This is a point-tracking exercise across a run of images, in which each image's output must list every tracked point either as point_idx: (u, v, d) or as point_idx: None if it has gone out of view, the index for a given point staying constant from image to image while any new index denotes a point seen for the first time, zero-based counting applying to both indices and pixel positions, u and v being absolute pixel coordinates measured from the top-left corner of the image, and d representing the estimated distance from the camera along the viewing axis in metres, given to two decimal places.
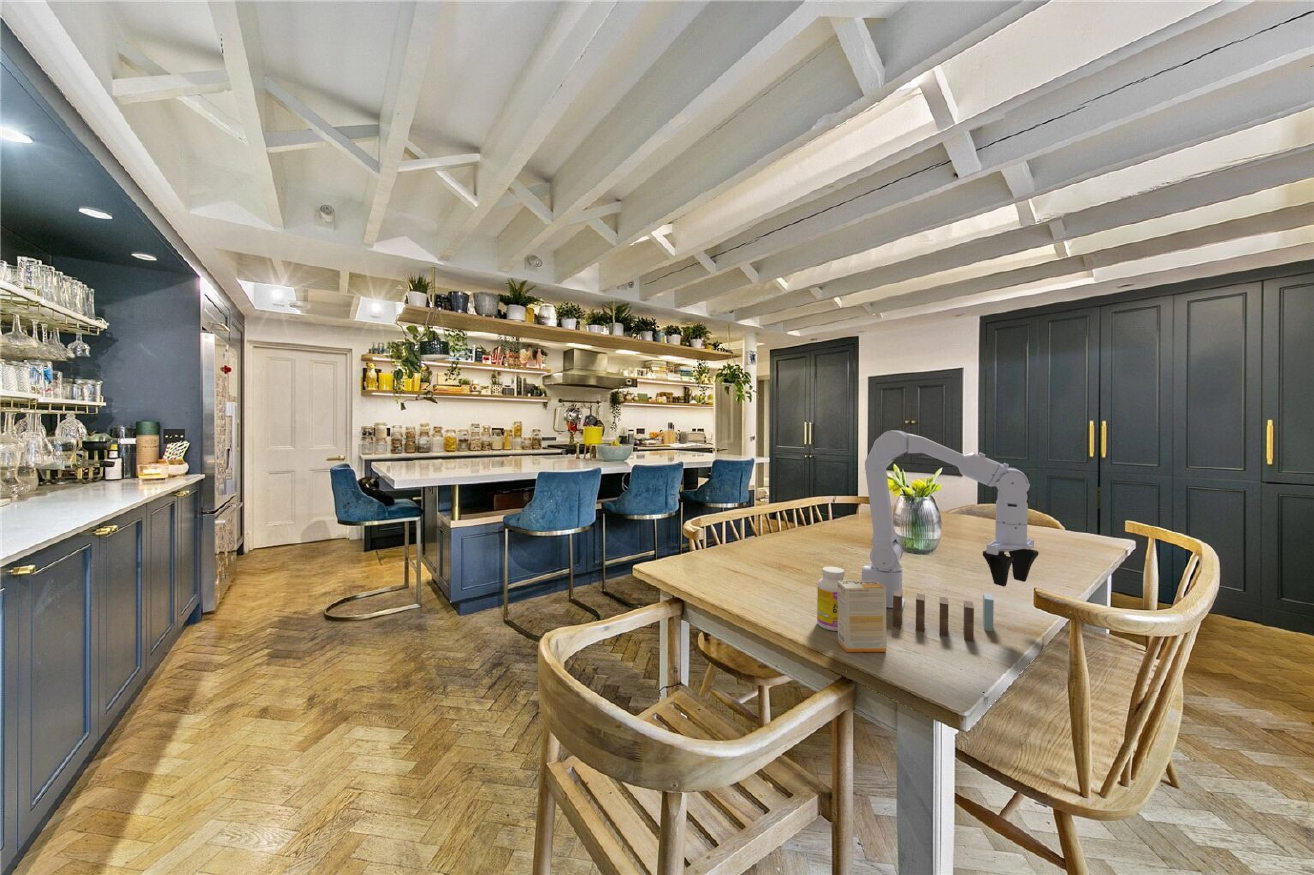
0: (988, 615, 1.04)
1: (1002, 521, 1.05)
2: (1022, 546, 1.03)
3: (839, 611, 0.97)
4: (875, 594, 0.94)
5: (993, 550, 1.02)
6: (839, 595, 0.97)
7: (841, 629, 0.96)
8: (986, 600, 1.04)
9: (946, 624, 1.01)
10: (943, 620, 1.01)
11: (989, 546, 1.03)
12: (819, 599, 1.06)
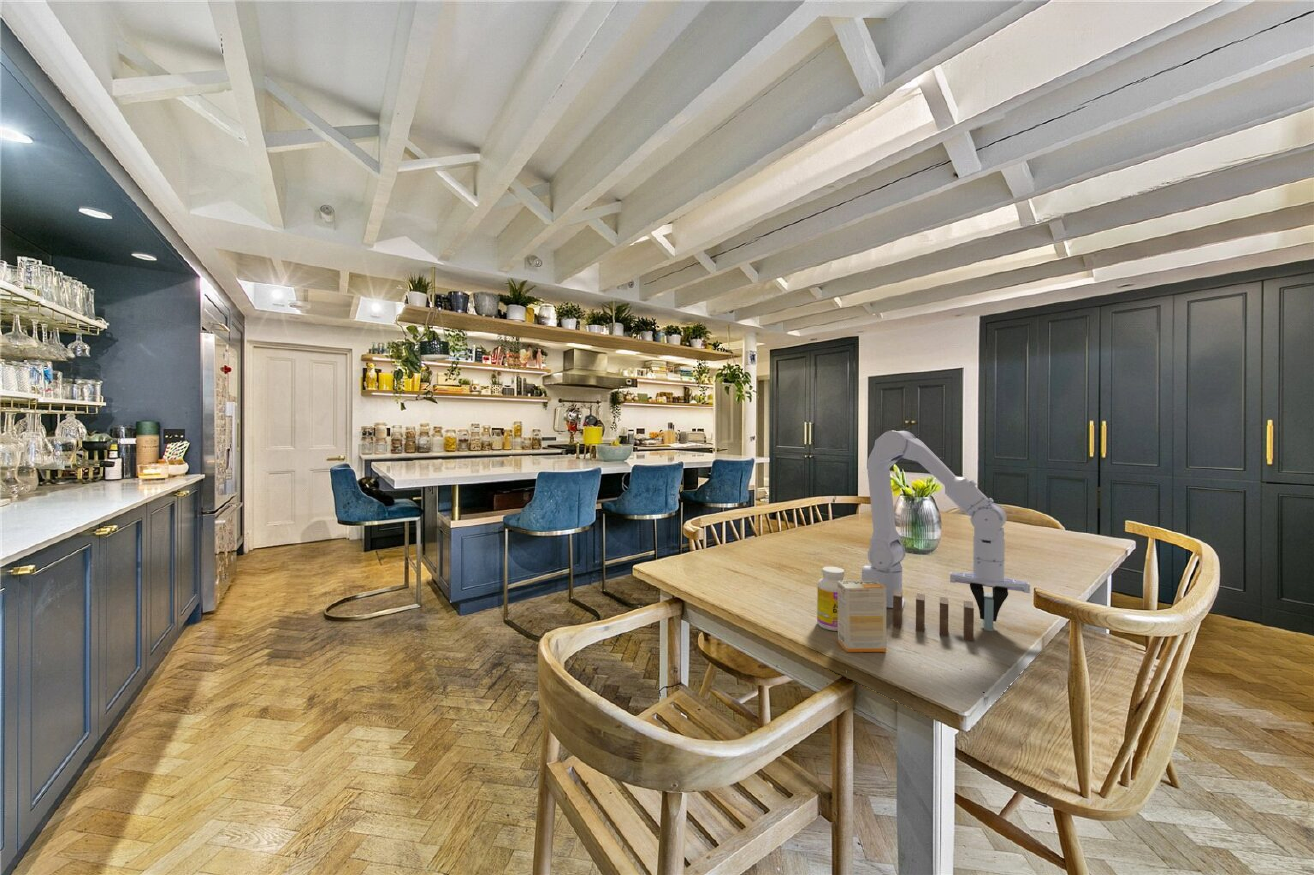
0: (988, 615, 1.04)
1: (977, 557, 1.05)
2: (983, 581, 1.04)
3: (839, 611, 0.97)
4: (875, 594, 0.94)
5: (950, 577, 1.09)
6: (839, 595, 0.97)
7: (841, 629, 0.96)
8: (986, 600, 1.04)
9: (946, 624, 1.01)
10: (943, 620, 1.01)
11: (950, 574, 1.10)
12: (819, 599, 1.06)
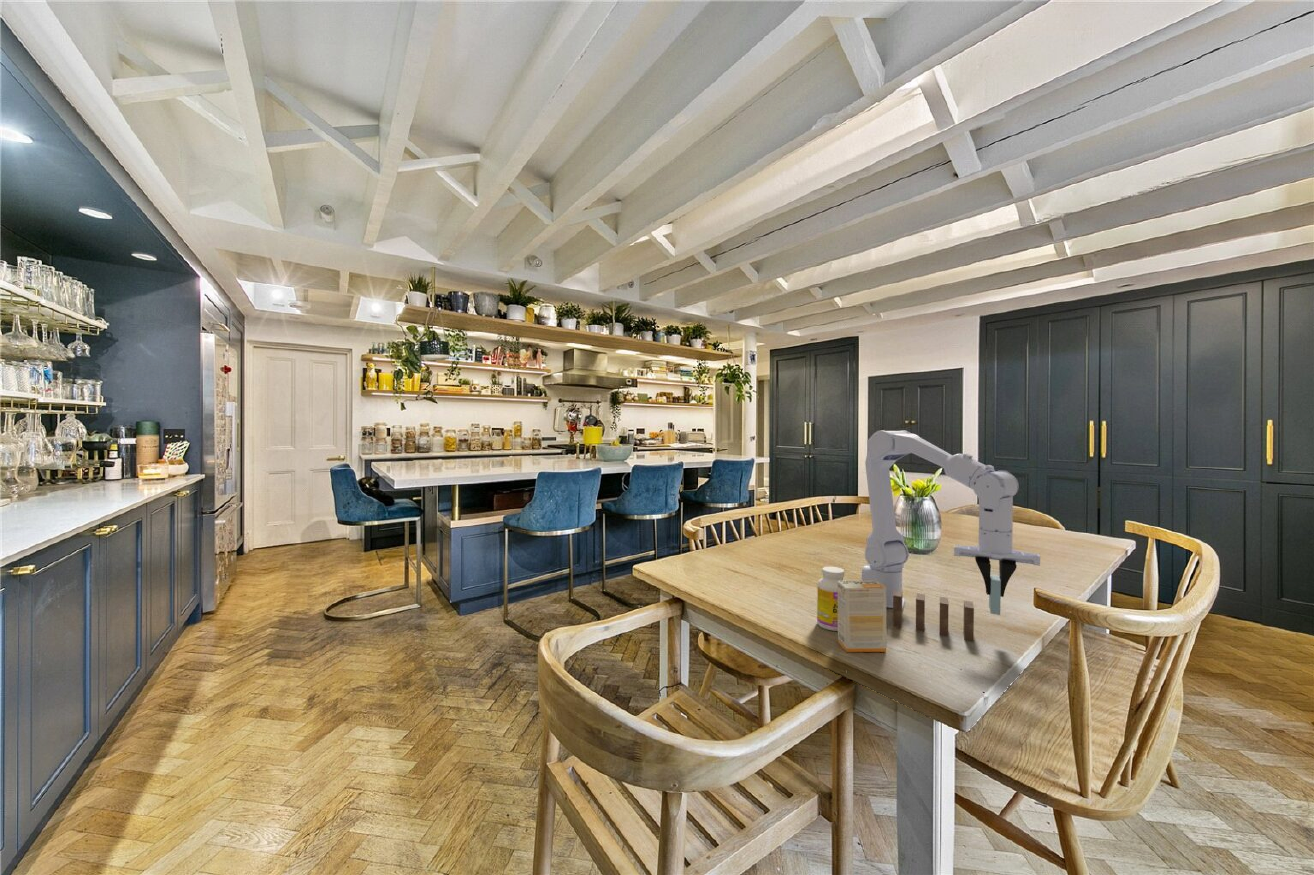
0: (995, 597, 0.97)
1: (981, 527, 0.99)
2: (989, 553, 0.96)
3: (839, 611, 0.97)
4: (875, 594, 0.94)
5: (954, 551, 1.02)
6: (839, 595, 0.97)
7: (841, 629, 0.96)
8: (993, 581, 0.97)
9: (946, 624, 1.01)
10: (943, 620, 1.01)
11: (954, 547, 1.02)
12: (819, 599, 1.06)
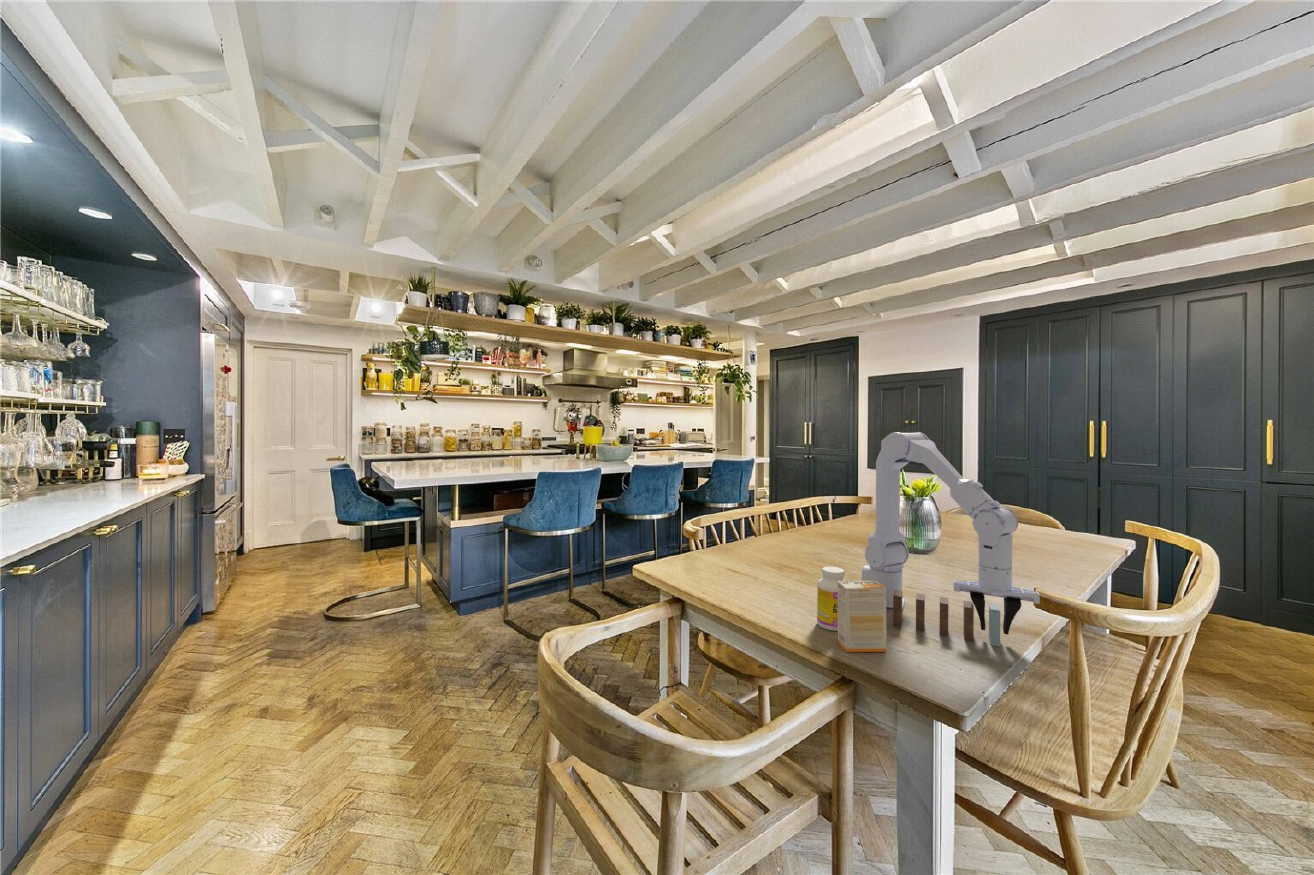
0: (995, 629, 0.97)
1: (980, 563, 0.99)
2: (989, 590, 0.97)
3: (839, 611, 0.97)
4: (875, 594, 0.94)
5: None
6: (839, 595, 0.97)
7: (841, 629, 0.96)
8: (992, 613, 0.97)
9: (946, 624, 1.01)
10: (943, 620, 1.01)
11: None
12: (819, 599, 1.06)
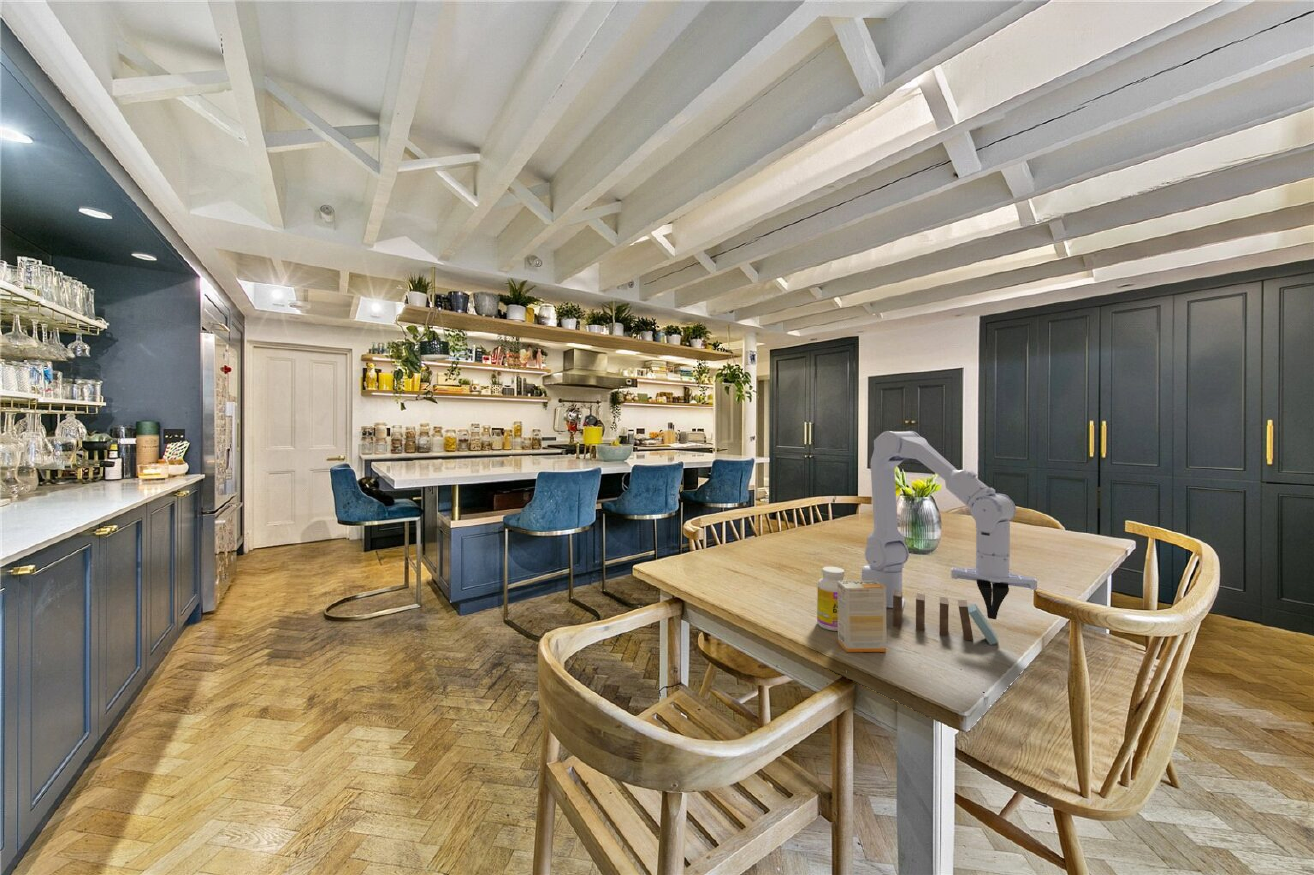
0: (983, 627, 0.98)
1: (978, 550, 0.99)
2: (986, 577, 0.97)
3: (839, 611, 0.97)
4: (875, 594, 0.94)
5: (951, 573, 1.02)
6: (839, 595, 0.97)
7: (841, 629, 0.96)
8: (971, 613, 0.99)
9: (946, 624, 1.01)
10: (943, 620, 1.01)
11: (951, 569, 1.03)
12: (819, 599, 1.06)
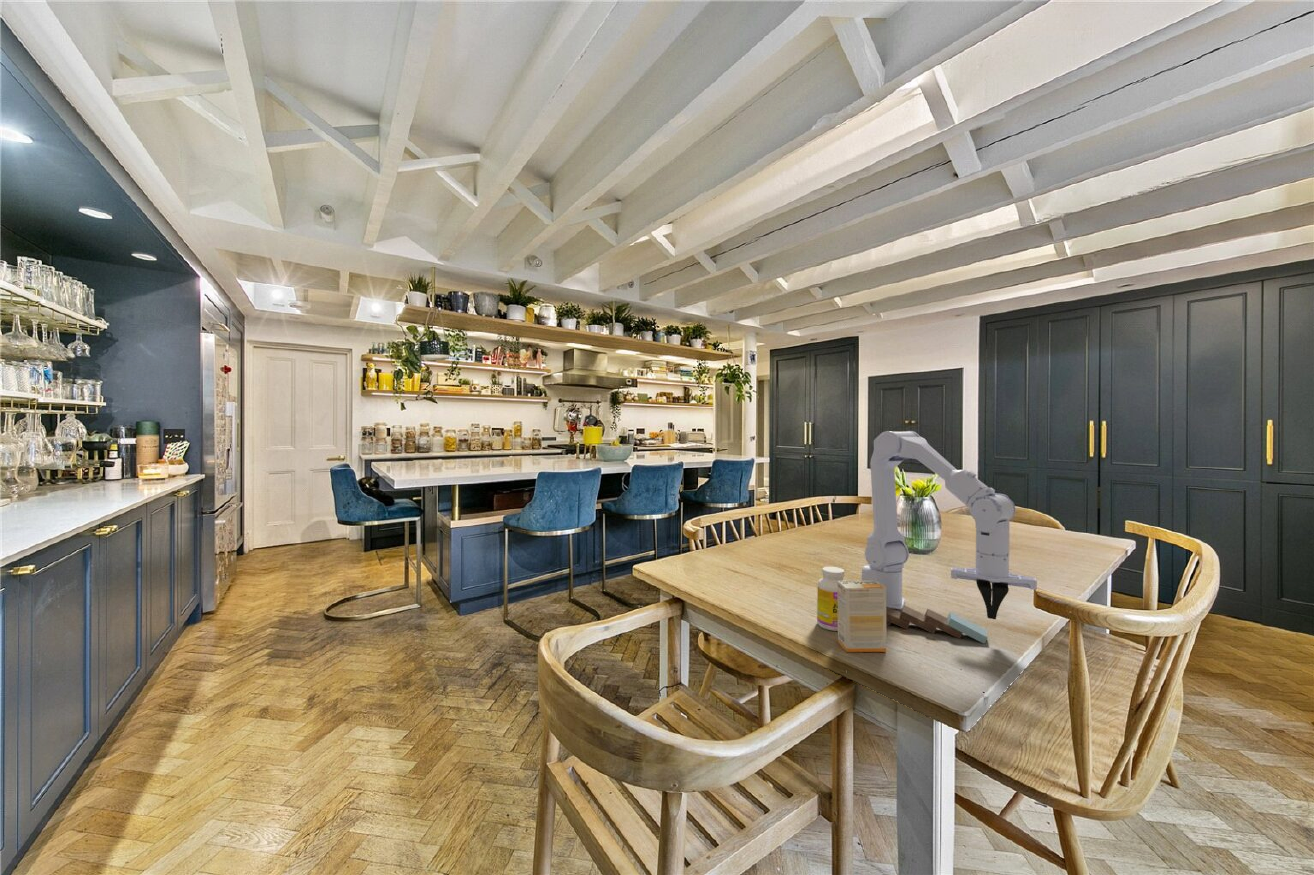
0: (967, 631, 0.99)
1: (977, 550, 0.99)
2: (986, 577, 0.97)
3: (839, 611, 0.97)
4: (875, 594, 0.94)
5: (951, 573, 1.02)
6: (839, 595, 0.97)
7: (841, 629, 0.96)
8: (949, 624, 1.01)
9: (923, 622, 1.03)
10: (918, 623, 1.04)
11: (951, 569, 1.03)
12: (819, 599, 1.06)
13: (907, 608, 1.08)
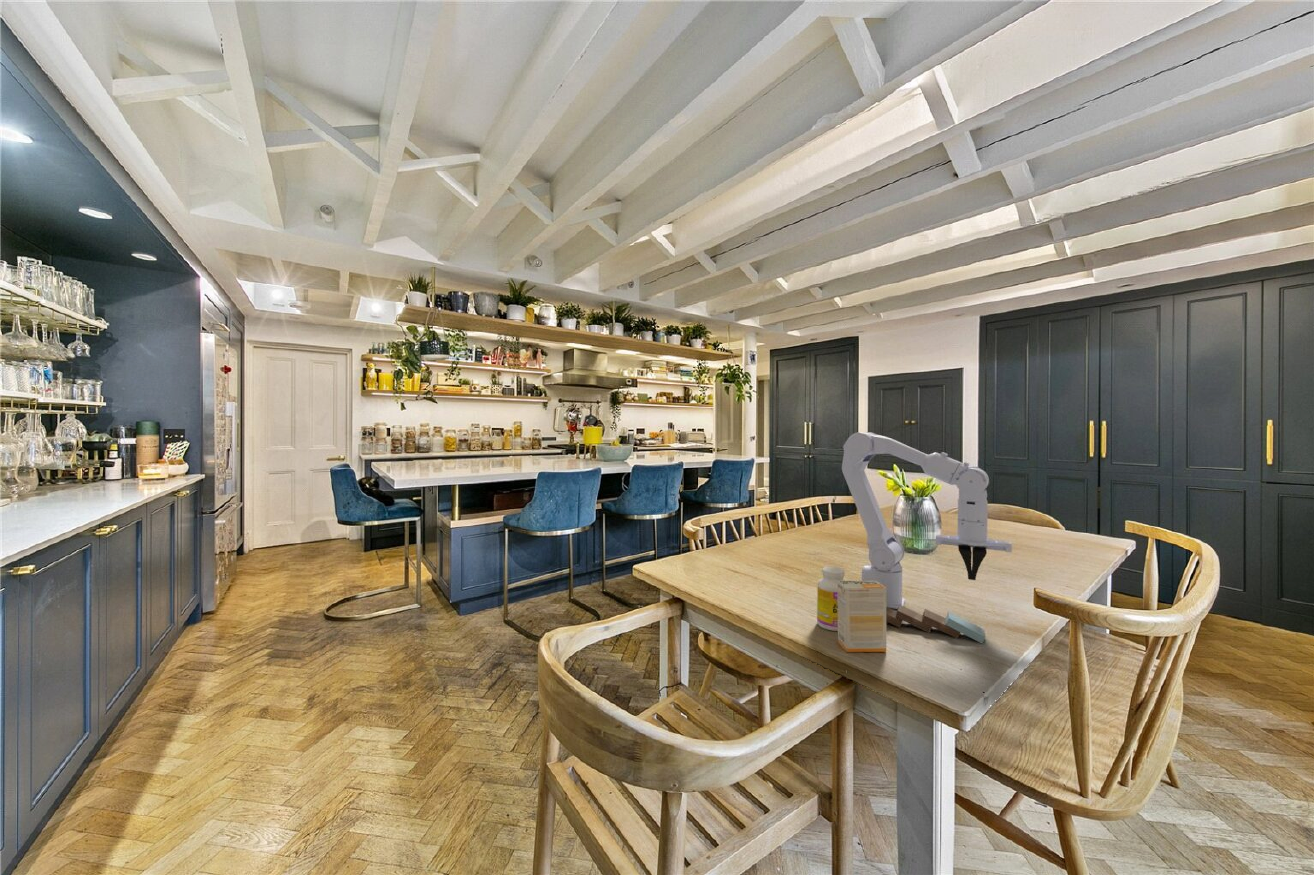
0: (965, 631, 0.99)
1: (962, 518, 1.08)
2: (966, 541, 1.07)
3: (839, 611, 0.97)
4: (875, 594, 0.94)
5: None
6: (839, 595, 0.97)
7: (841, 629, 0.96)
8: (947, 624, 1.01)
9: (918, 621, 1.04)
10: (914, 622, 1.04)
11: None
12: (819, 599, 1.06)
13: (903, 608, 1.08)
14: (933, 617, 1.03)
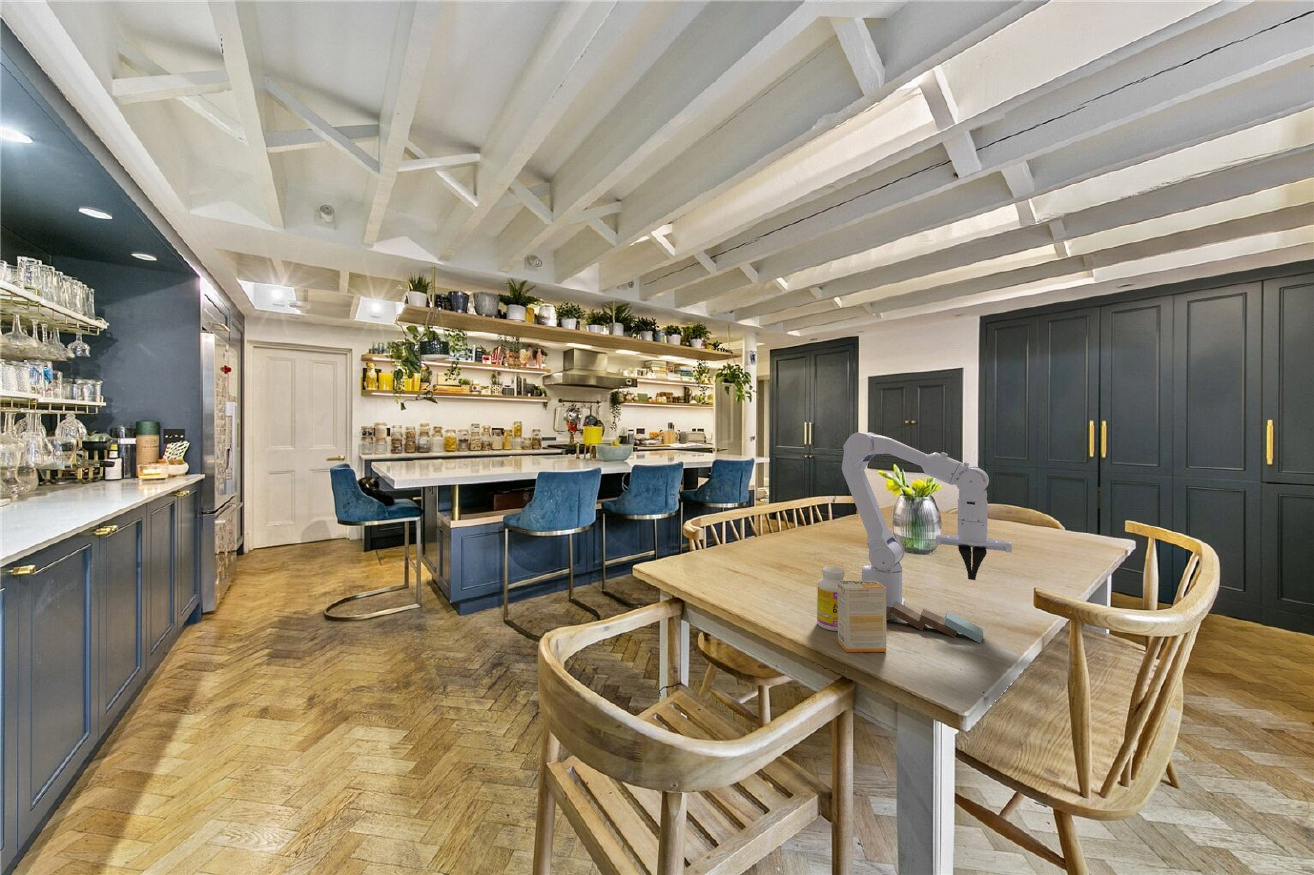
0: (963, 630, 1.00)
1: (962, 518, 1.08)
2: (966, 541, 1.07)
3: (839, 611, 0.97)
4: (875, 594, 0.94)
5: None
6: (839, 595, 0.97)
7: (841, 629, 0.96)
8: (945, 623, 1.01)
9: (912, 618, 1.05)
10: (907, 619, 1.05)
11: None
12: (819, 599, 1.06)
13: (899, 604, 1.09)
14: (930, 616, 1.04)
